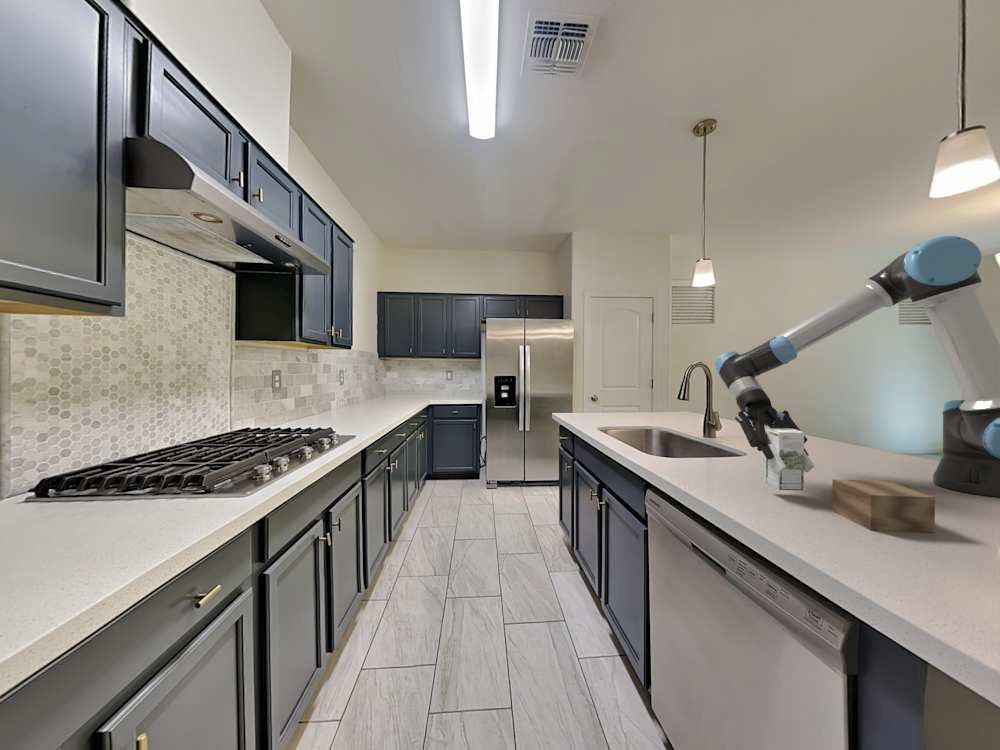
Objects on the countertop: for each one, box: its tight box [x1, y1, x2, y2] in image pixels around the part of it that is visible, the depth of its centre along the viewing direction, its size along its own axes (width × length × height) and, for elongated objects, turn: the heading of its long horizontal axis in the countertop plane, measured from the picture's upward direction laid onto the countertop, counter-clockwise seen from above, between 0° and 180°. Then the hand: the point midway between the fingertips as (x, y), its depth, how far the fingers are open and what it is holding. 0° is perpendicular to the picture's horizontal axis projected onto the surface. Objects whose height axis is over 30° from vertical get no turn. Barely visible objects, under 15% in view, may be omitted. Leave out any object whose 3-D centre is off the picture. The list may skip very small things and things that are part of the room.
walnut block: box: [831, 479, 936, 534], centre depth 83 cm, size 11×11×7 cm
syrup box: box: [765, 428, 805, 491], centre depth 99 cm, size 6×6×14 cm
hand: (795, 469), depth 95 cm, fingers closed on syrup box, 6 cm apart
